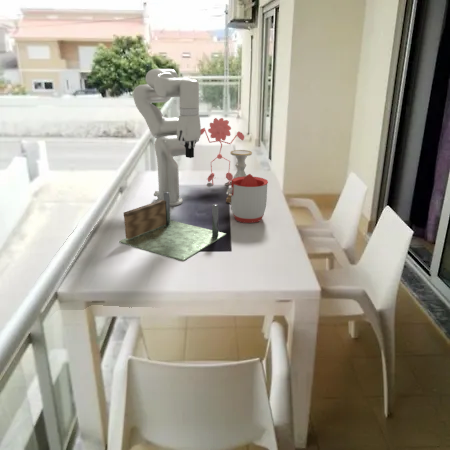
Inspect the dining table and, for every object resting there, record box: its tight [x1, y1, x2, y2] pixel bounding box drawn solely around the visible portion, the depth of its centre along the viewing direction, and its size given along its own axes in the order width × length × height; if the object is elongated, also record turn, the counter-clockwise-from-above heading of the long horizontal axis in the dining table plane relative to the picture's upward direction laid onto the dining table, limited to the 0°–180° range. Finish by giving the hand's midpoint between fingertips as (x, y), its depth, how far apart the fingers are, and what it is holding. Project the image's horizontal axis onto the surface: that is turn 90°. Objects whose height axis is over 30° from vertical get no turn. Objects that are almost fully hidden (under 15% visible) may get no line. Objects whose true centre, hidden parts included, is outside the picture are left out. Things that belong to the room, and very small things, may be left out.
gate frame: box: [119, 192, 227, 262], centre depth 165 cm, size 30×28×14 cm
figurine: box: [201, 117, 245, 186], centre depth 239 cm, size 15×26×35 cm, turn 98°
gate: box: [123, 200, 166, 239], centre depth 170 cm, size 20×2×10 cm, turn 143°
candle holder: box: [225, 149, 253, 204], centre depth 208 cm, size 11×11×24 cm
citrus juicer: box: [226, 173, 269, 224], centre depth 185 cm, size 16×17×20 cm
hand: (189, 157), depth 181 cm, fingers closed
